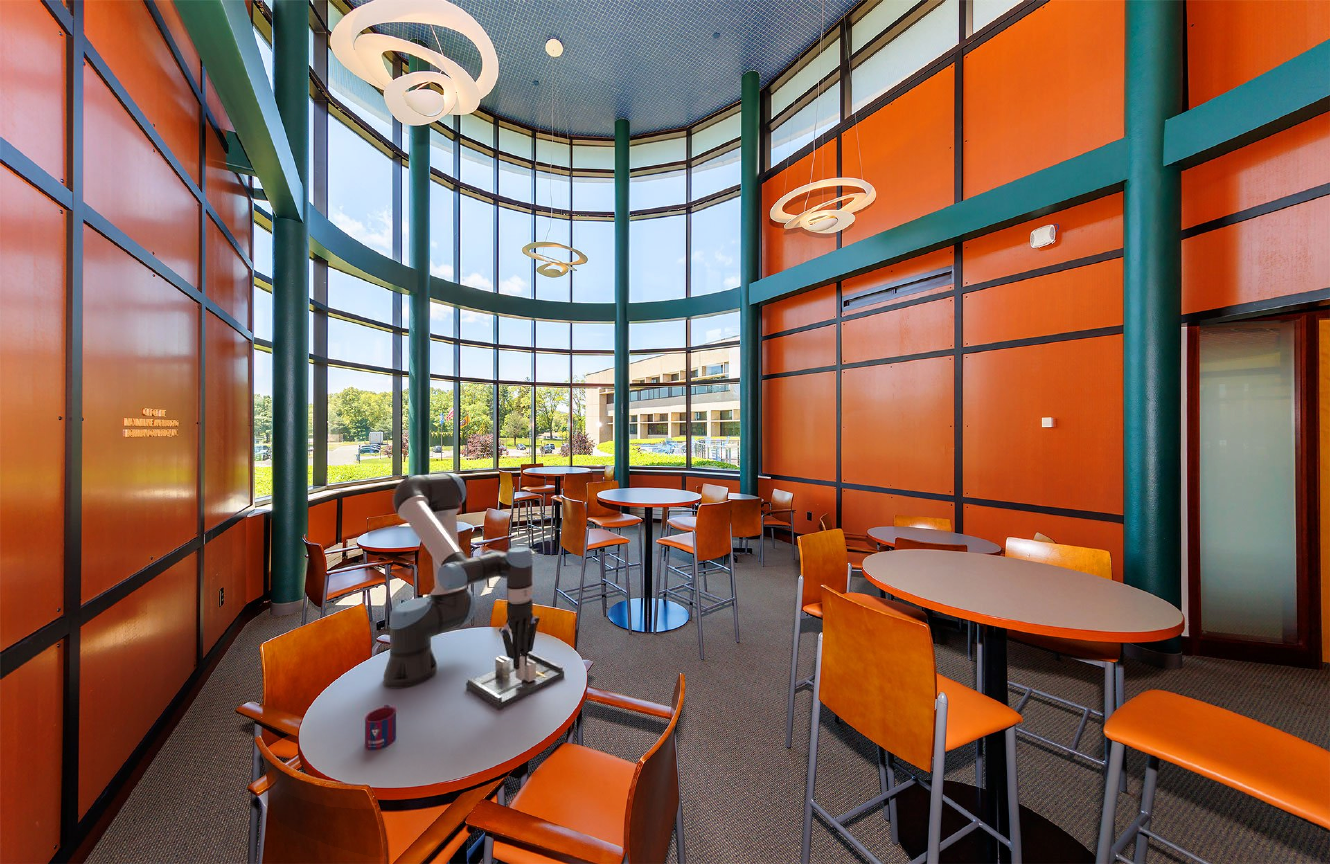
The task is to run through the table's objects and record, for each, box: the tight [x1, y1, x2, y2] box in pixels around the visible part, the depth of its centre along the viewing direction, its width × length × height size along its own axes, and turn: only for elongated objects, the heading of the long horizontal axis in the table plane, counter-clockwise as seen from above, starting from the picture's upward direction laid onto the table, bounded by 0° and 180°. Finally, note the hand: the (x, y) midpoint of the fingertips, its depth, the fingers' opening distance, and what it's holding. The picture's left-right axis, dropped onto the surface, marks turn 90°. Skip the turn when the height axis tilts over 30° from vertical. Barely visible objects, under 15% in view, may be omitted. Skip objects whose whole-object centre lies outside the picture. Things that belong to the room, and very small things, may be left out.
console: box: [465, 651, 565, 711], centre depth 145 cm, size 18×23×7 cm
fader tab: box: [524, 659, 536, 682], centre depth 143 cm, size 4×2×5 cm, turn 51°
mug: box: [364, 704, 397, 751], centre depth 119 cm, size 7×10×7 cm
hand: (520, 677), depth 140 cm, fingers closed
